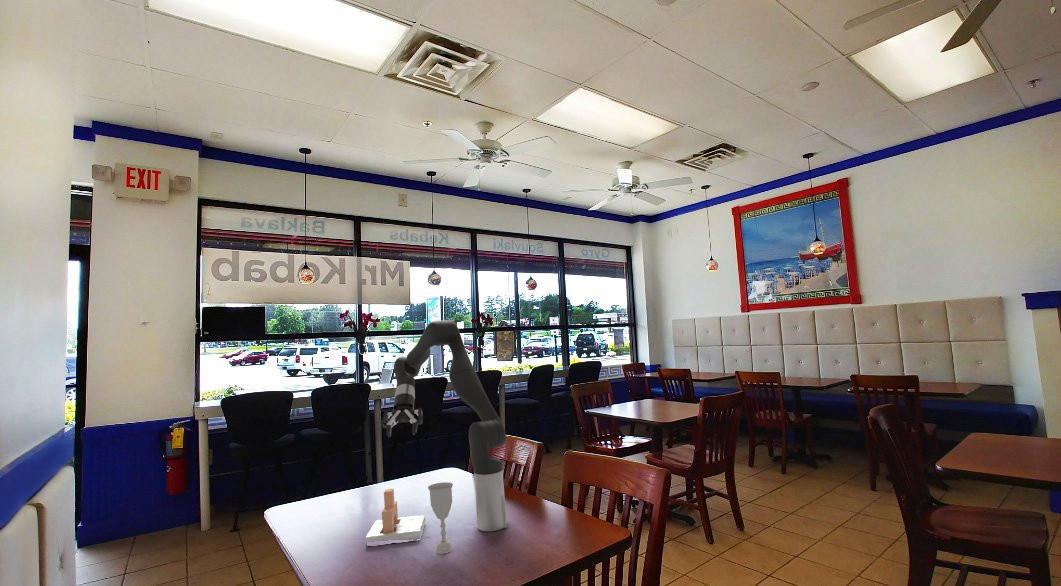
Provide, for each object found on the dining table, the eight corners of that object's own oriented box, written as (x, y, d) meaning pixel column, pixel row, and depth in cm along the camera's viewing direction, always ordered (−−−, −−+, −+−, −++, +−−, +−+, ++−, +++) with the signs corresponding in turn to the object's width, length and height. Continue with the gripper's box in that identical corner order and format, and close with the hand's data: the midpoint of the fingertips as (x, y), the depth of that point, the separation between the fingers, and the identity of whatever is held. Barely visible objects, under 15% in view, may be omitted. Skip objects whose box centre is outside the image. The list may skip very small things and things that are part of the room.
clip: (398, 529, 161) (396, 485, 162) (393, 541, 151) (390, 494, 153) (389, 530, 161) (386, 486, 162) (383, 542, 151) (380, 495, 152)
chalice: (459, 544, 145) (455, 481, 146) (453, 554, 138) (449, 488, 140) (435, 545, 145) (431, 483, 147) (428, 555, 139) (424, 490, 140)
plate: (425, 524, 164) (425, 514, 164) (420, 540, 150) (419, 530, 150) (376, 529, 162) (375, 520, 162) (366, 547, 148) (365, 537, 148)
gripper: (383, 394, 186) (379, 430, 173) (422, 390, 187) (420, 426, 175) (387, 406, 191) (383, 442, 178) (424, 403, 192) (422, 438, 180)
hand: (401, 434), depth 177 cm, fingers open, 8 cm apart
